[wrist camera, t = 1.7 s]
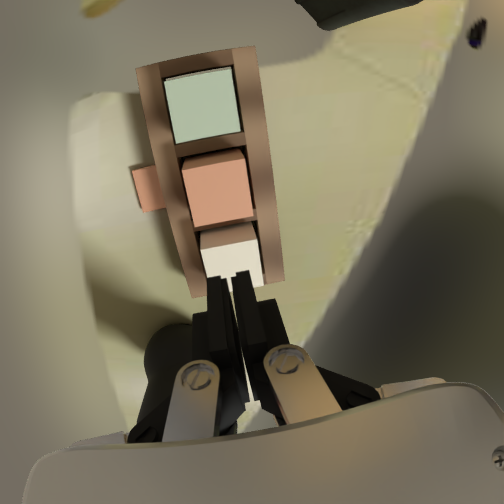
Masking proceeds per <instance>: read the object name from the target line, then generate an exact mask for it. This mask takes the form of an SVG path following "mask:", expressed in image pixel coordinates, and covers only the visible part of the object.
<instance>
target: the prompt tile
mask: <svg viewBox="0 0 504 504" xmlns="http://www.w3.org/2000/svg"><path fill="white" fill-rule="evenodd" d="M132 173H133V177H134V181H135V185H136V188H137V192H138V196H139V199H140V203H141V206H142V210H143V213H144V212H148V211H153V210H157V209H162V208H166V205H165V201H164V197H163V194H162V190H161V186H160V182H159V177H158V173H157V169H156V165H151V166H147V167H143V168H139V169H135V170H133V171H132Z"/></svg>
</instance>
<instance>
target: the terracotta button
mask: <svg viewBox="0 0 504 504" xmlns="http://www.w3.org/2000/svg"><path fill="white" fill-rule="evenodd" d="M182 173H183V178H184V183H185V187H186V191H187V196H188V200H189V205H190V209H191V213H192V217H193V222H194V226H195V227H198V226H203V225H209V224H214V223H219V222H224V221H229V220H235V219H240V218H246V217H251V216H253V209H252V202H251V196H250V189H249V183H248V176H247V170H246V163H245V158H244V156H243V154H242V152H241V150H240V149H239V148H237V149H232V150H226V151H220V152H215V153H210V154H205V155H200V156H195V157H190V158H185V161H184V165H183V168H182Z"/></svg>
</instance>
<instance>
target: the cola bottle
mask: <svg viewBox="0 0 504 504" xmlns="http://www.w3.org/2000/svg"><path fill="white" fill-rule="evenodd" d="M190 362H192V326H190V325H185V324H174V325H169V326H166V327H164V328H162V329H160V330H159V331H157V332H156V333H155V334H154V335H153V337H152V338H151V340H150V341H149V343H148V345H147V348H146V351H145V355H144V367H145V372H146V375H147V378H148V386H147V389H146V392H145V395H144V399H143V402H142V405H141V409H140V412H139V416H138V419H137V424H138V423H139V422H140V421H141V420H142V419H143V418H145V417H146V416H147V415H148V414H149V413H150V412H151V411H153V410H154V409H155V408H156V407H157V406H158V405H159V404H161V403H162V402H163V401H164V400H165V399H166V398H167V397H168V396H170V395H171V394H172V392H173V388H174V383H175V379H176V376H177V373H178V371H179V370H180V369H181V368H182V367H183V366H184V365H186V364H187V363H190Z"/></svg>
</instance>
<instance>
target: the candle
mask: <svg viewBox="0 0 504 504" xmlns="http://www.w3.org/2000/svg"><path fill="white" fill-rule="evenodd" d="M421 1H423V0H295V2H296V3H297V4H300V5H301V6H302V7H303V8H304V9H305V10H306V11H307V12H308V13H309V14H310V15H311V16H312V17H313V19H314V20H315V21H316V22H317V26H319V27H320V28H321V29H323V30H327V31H330V30H334V29H337V28H340V27H342V26H345V25H348V24H351V23H354V22H357V21H360V20H363V19H366V18H369V17H373V16H376V15H379V14H383V13H386V12H390V11H393V10H397V9H401V8H405V7H409V6H413V5H416V4H418V3H419V2H421Z"/></svg>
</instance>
